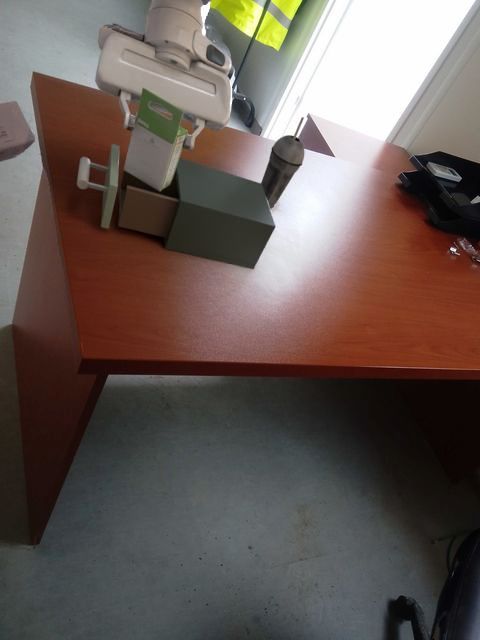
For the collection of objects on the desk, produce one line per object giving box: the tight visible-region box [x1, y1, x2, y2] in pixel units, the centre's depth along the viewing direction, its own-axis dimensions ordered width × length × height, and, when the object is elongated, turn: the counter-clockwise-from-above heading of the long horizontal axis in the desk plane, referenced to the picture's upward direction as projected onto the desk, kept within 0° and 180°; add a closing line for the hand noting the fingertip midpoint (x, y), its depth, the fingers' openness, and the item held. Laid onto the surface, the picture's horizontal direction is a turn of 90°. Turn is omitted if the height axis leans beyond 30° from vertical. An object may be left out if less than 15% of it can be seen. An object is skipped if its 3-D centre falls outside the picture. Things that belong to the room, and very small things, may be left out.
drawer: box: [76, 143, 179, 238], centre depth 77 cm, size 20×13×8 cm, turn 103°
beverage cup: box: [260, 116, 306, 209], centre depth 97 cm, size 7×7×20 cm
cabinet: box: [163, 157, 276, 270], centre depth 82 cm, size 17×14×10 cm
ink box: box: [123, 87, 189, 192], centre depth 70 cm, size 7×4×13 cm, turn 71°
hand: (159, 138), depth 70 cm, fingers closed on ink box, 8 cm apart
